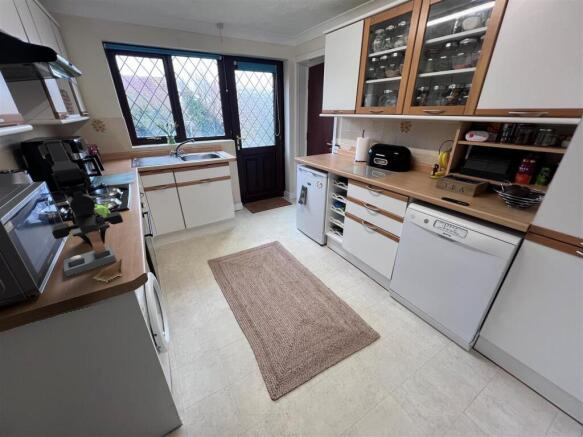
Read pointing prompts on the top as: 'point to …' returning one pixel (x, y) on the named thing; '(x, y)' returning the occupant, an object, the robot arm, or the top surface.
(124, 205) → the top surface
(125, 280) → the top surface
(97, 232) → the brown wooden block
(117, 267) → the shard
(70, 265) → the board
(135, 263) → the top surface
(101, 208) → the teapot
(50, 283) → the top surface
